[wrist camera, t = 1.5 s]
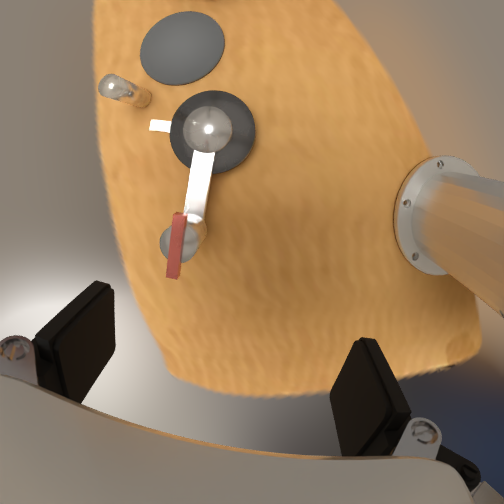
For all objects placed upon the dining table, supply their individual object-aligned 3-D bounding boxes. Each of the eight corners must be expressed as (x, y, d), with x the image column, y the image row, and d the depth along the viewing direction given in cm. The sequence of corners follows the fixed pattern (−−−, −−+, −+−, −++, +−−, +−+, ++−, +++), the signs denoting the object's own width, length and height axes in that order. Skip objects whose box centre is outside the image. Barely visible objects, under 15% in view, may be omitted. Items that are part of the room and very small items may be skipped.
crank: (193, 106, 22) (173, 93, 16) (237, 113, 22) (230, 100, 16) (170, 247, 26) (147, 272, 20) (210, 255, 26) (197, 283, 20)
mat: (233, 16, 21) (232, 14, 21) (213, 89, 24) (213, 89, 23) (153, 12, 21) (152, 11, 21) (133, 83, 23) (131, 82, 23)
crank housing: (262, 103, 24) (263, 86, 17) (246, 178, 26) (242, 186, 20) (136, 88, 24) (101, 72, 17) (123, 158, 26) (85, 162, 19)
